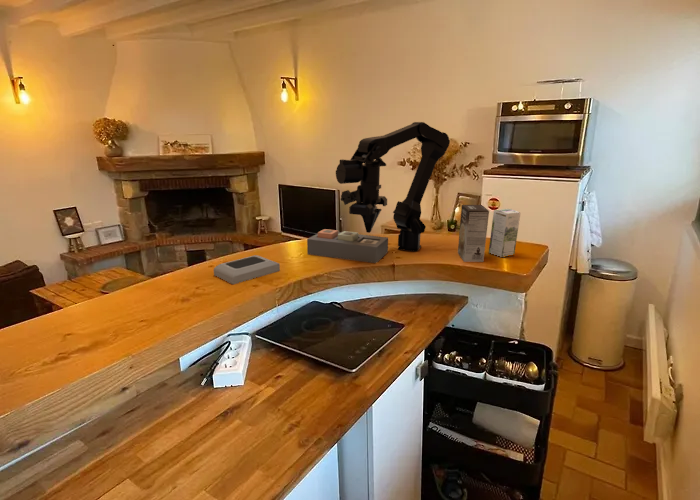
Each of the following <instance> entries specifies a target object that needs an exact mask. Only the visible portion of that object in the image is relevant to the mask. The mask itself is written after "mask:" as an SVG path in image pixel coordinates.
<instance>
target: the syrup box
mask: <svg viewBox="0 0 700 500" xmlns="http://www.w3.org/2000/svg"><path fill="white" fill-rule="evenodd" d="M492 215H493V216H492V221H491V230H490V239H489V247H488V254H490V253H491V255H492V254H494V255H493V256H495V255H497V256H496V257H498V256H500V257H499V258H501V257H503V258H505V257H504V256H508V255H513V254H514V255H515V253H516V245H517V239H518V233H519V225H520V218H521V212H520V211H518V210H515V209H512V208H503V209H494V210H493V214H492Z"/></svg>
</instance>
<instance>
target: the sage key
mask: <svg viewBox="0 0 700 500" xmlns="http://www.w3.org/2000/svg"><path fill="white" fill-rule="evenodd" d="M341 232H342V233H340V234H338V240H344V241H353V242H354V241H355V240H357V239H358V234H359V232H358V231H357V232H355V231H347V230H346V231H345V230H343V231H341Z"/></svg>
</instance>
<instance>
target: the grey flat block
mask: <svg viewBox="0 0 700 500" xmlns="http://www.w3.org/2000/svg"><path fill="white" fill-rule="evenodd" d="M280 267H281V266H280V263H279V262H276V261H275V260H274V261H273V260H271V259H268V258H267V257H263V256H261V255H258V254H257V255H256V254H255V255H251V256H247V257H246V256H245V257H243V258H240V259H234V260H231V261H227V262H223V263H220V264H217V265H216V266H215V267H213V277H216V276H217V277H216V278H218V277H219V278H218V279H220V278H221V279H220V280H222V279H223V281H224V280H225V282H226V281H227V283H229V284H231V285H236V284H240V283H243V281H244V282H247V281H250V280H253V278H254V279H256V277H257V278H260V277H264V276H267V275H270V274H273V273H277V272H280V271H281V270H280ZM246 280H247V281H246ZM239 282H240V283H239Z"/></svg>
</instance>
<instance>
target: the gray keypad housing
mask: <svg viewBox="0 0 700 500" xmlns="http://www.w3.org/2000/svg"><path fill="white" fill-rule="evenodd" d="M342 232H343V231H341V232H340V231H338V234H340V233H342ZM364 239H368V240H377V241H378V242H377V243H376V244H370V243H361V241H362V240H364ZM306 243H307V244H306V247H307V249H306V250H307V255H310V256H319V257H325V258H332V259H342V260H347V261H348V260H350V261H355V262H356V261H357V262H364V263H371V264H372V263H373V264H377V263H378V262H379V261H380V260H381V259H382V258H384V256H386V254H388V252H389V237H387V236H379V235H370V234H369V235H368V234H361V233H360V234H359V233H358V239H357V240H355V241H354V242H353V241H344V240H338V236H337V237H336V238H334V239H327V238H318V233H315V235H312V236H310V237H308V238H307V239H306Z"/></svg>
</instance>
